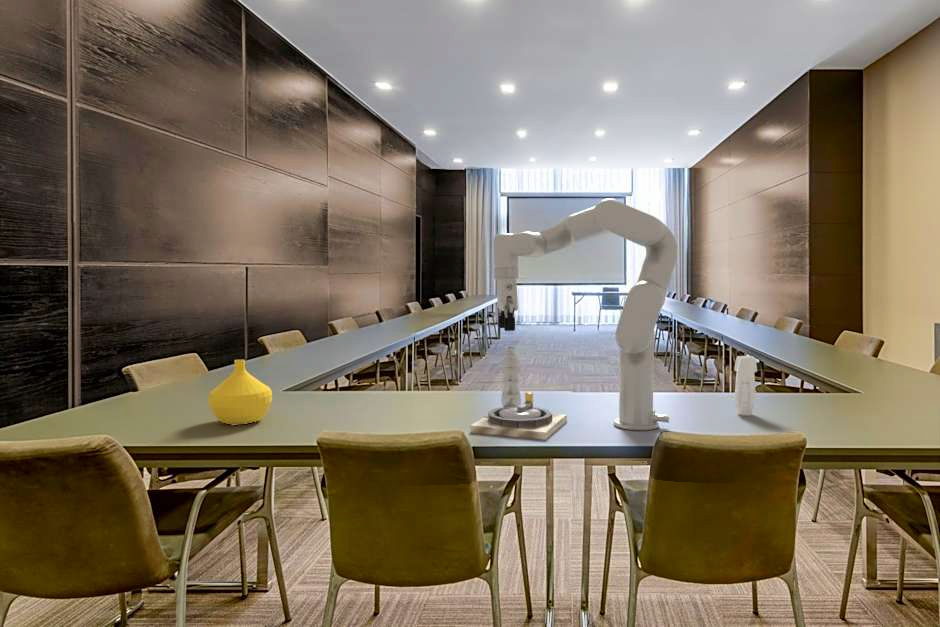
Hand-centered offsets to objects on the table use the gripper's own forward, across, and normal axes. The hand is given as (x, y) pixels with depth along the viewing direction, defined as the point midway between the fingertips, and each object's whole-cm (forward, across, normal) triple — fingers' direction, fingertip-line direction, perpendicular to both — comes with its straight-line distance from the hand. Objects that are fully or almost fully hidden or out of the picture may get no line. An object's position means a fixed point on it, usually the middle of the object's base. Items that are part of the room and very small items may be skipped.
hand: (506, 329), depth 195 cm
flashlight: (+28, -11, -72) cm, 78 cm away
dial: (+25, -12, -2) cm, 28 cm away
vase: (+27, +7, +82) cm, 86 cm away
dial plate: (+27, -14, -1) cm, 31 cm away
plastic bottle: (+27, +11, -3) cm, 30 cm away
